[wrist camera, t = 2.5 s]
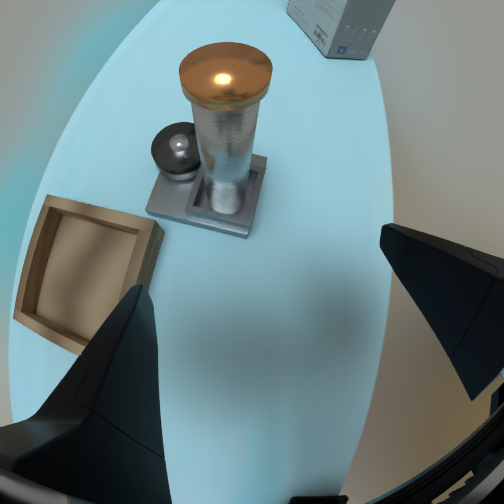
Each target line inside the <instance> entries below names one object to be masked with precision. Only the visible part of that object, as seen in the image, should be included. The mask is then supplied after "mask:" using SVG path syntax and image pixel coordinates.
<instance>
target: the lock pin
mask: <svg viewBox="0 0 504 504" xmlns="http://www.w3.org/2000/svg"><path fill="white" fill-rule="evenodd" d="M179 75H180V81H181V87H182V91H183V94H184V96H185V97H186V98H187V99H188V100H189V101H190V102H191V105H192V112H193V118H194V125H195V131H196V137H197V143H198V149H199V155H200V161H201V166H202V172H203V178H204V183H205V189H206V194H207V199H208V203H209V205H210V207H211V208H212V209H213V210H214V211H217V212H221V213H225V214H233V213H235V212H237V211H238V210H240V209H241V208H242V206H243V205H244V202H245V198H246V191H247V184H248V177H249V170H250V163H251V156H252V150H253V143H254V136H255V130H256V123H257V117H258V110H259V104H260V100H262V99H263V98H264V97H265V95H266V94H267V92H268V90H269V85H270V80H271V75H272V63H271V61H270V59H269V58H268V56H267V55H266V54H264V53H263V52H262V51H260V50H259V49H257V48H255V47H252V46H249V45H246V44H242V43H235V42H220V43H213V44H209V45H205V46H202V47H200V48H198V49H196V50H194V51H192V52H191V53H189V54H188V55H187V56H186V57H185V58H184V59H183V60H182V62H181V64H180V67H179Z"/></svg>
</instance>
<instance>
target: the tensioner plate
mask: <svg viewBox="0 0 504 504" xmlns="http://www.w3.org/2000/svg"><path fill="white" fill-rule="evenodd" d="M151 153H152V156H153V159H154V161H155V163H156V165H157V167H158V169H159V171H160V173H159V175H158V178H157V180H156V183H155V185H154V188H153V190H152V193H151V196H150V198H149V201H148V204H147V206H146V209H145V211H146V212H147V213H148V214H149V215H152V216H156V217H160V218H164V219H168V220H172V221H177V222H181V223H185V224H189V225H193V226H197V227H201V228H205V229H209V230H213V231H217V232H221V233H225V234H229V235H233V236H237V237H241V238H245V239H247V235H248V233H249V231H250V227H251V224H252V220H253V216H254V212H255V208H256V204H257V200H258V196H259V192H260V188H261V185H262V181H263V177H264V173H265V169H266V168H265V165H266V161H267V157H263V156H259V155H255V154H252V156H251V163H250V170H249V177H248V184H247V191H246V198H245V202H244V205H243V206H242V208H241V209H240V210H238V211H237V212H235V213H233V214H225V213H221V212H217V211H214V210H213V209H212V208H211V207H210V205H209V203H208V199H207V194H206V189H205V183H204V178H203V172H202V166H201V161H200V155H199V149H198V143H197V137H196V131H195V125H194V123H189V122H179V123H175V124H171V125H169V126H167V127H165V128H164V129H162V130H161V131H160V132H159V133H158V134H157V135H156V137H155V138H154V140H153V142H152V146H151Z"/></svg>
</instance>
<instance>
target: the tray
mask: <svg viewBox="0 0 504 504" xmlns="http://www.w3.org/2000/svg"><path fill="white" fill-rule="evenodd" d="M164 233H165V232H164V231H163V230H162V228H161V227H160V226H159V225H158V223H157V222H156V221H155V220H152V219H148V218H144V217H140V216H136V215H132V214H127V213H123V212H119V211H115V210H111V209H107V208H103V207H98V206H94V205H90V204H86V203H82V202H77V201H73V200H69V199H65V198H61V197H56V196H52V195H48V194H47V196H46V198H45V201H44V203H43V206H42V208H41V211H40V214H39V217H38V219H37V222H36V225H35V228H34V231H33V234H32V237H31V240H30V244H29V247H28V250H27V254H26V258H25V261H24V265H23V269H22V273H21V278H20V282H19V287H18V292H17V297H16V302H15V308H14V315H13V319H15V320H16V321H18V322H19V323H21V324H22V325H24V326H26V327H27V328H29V329H30V330H32V331H34V332H35V333H37V334H39V335H40V336H42V337H44V338H46V339H47V340H49V341H51V342H53V343H55V344H56V345H58V346H60V347H62V348H64V349H66V350H68V351H70V352H72V353H74V354H76V355H78V356H79V355H81V353H82V351H83V350H84V348H85V347H86V346H87V344H88V343H89V341H90V340H91V339H92V337H93V336H94V334H95V333H96V332H97V330H98V329H99V328H100V326H101V325H102V324H103V322H104V321H105V320H106V318H107V317H108V316H109V314H110V313H111V312H112V311H113V309H114V308H115V307H116V305H117V304H118V303H119V302H120V300H121V299H122V298H123V296H124V295H125V294H126V293H127V291H128V290H129V289H130V288H131V287H132V286H134V285H138V284H144V286H145V287H146V289H147V292H148V288H149V284H150V280H151V277H152V273H153V270H154V266H155V263H156V259H157V256H158V253H159V249H160V246H161V243H162V240H163V236H164Z"/></svg>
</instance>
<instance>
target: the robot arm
mask: <svg viewBox="0 0 504 504" xmlns="http://www.w3.org/2000/svg"><path fill="white" fill-rule="evenodd" d="M380 248H381V250H382V252H383V253H384V255H385V257H386V258H387V260H388V262H389V263H390V265H391V267H392V268H393V270H394V272H395V274H396V275H397V277H398V278H399V280H400V281H401V283H402V284H403V286H404V287H405V288H406V290H407V291H408V293H409V294H410V296H411V297H412V299H413V300H414V302H415V303H416V305H417V306H418V308H419V309H420V311H421V312H422V314H423V315H424V317H425V319H426V320H427V322H428V323H429V325H430V327H431V328H432V330H433V331H434V333H435V335H436V336H437V338H438V340H439V341H440V343H441V345H442V347H443V348H444V350H445V352H446V353H447V355H448V357H449V358H450V361H451V363H452V365H453V366H454V368H455V370H456V372H457V374H458V376H459V378H460V379H461V382H462V384H463V385H464V387H465V389H466V392H467V393H468V396H469V398H470V399H471V401H473V400H474V399H475V398H476V397H477V396H478V395H480V394H481V393H482V392H483V391H484V390H485V389H486V388H487V387H488V386H489V385H490V384H491V383H492V382H493V381H494V380H495V379H496V378H497V377H498V376H499V375H501V377H502V378H503V379H504V259H502V258H499V257H496V256H493V255H489V254H487V253H484V252H481V251H478V250H475V249H472V248H469V247H465V246H463V245H460V244H458V243H455V242H451V241H449V240H445V239H442V238H439V237H436V236H433V235H430V234H427V233H424V232H420V231H417V230H414V229H410V228H407V227H404V226H400V225H397V224H393V223H389V224H385V225H383V226H382V229H381V236H380ZM470 470H472V472H473V474H474V476H472V477H470V478H468V479H467V480H466V481H465V482H464V483H465V485H464V486H463V487H461V488H459V489H457V490H455V491H453V492H451V493H450V494H449V497H450V498H447V499H445V500H444V501H442V502H440V503H438V504H504V383H503V384H502V385H501V386H500V387H499V388H498V389H497V390H496V391H495V392H494V393H493V394H492V395H491V407H490V416H489V418H488V419H487V420H486V421H485V422H484V423H483V424H482V425H481V426H480V427H479V428H477V429H476V430H475V431H474V432H473V433H472V434H471V435H470V436H468V437H467V438H466V439H465V440H464V441H463V442H461V443H460V444H459V445H458V446H457V447H455V448H454V449H453V450H452V451H450V452H449V453H448V454H446V455H445V456H444V457H442V458H441V459H440V460H438V461H437V462H436V463H434V464H433V465H431V466H430V467H428V468H427V469H426V470H424V471H423V472H421V473H419V474H418V475H416V476H415V477H413V478H412V479H410V480H408V481H407V482H405V483H403V484H402V485H400V486H398V487H396V488H395V489H393V490H391V491H389V492H388V493H386V494H383V495H382V496H380V497H378V498H376V499H374V500H372V501H370V502H367V503H365V504H433V503H432V500H434V499H435V498H436V497H438V496H439V495H441V494H442V493H443V492H445V491H446V490H447V489H449V488H450V487H451V486H453V485H454V484H455V483H456V482H458V481H459V480H460V479H461V478H462V477H464V476H465V475H466V474H467V473H468V472H469V471H470ZM294 501H295V502H294ZM347 501H348V497H347V496H346V495H341V496H326V497H293V498H292V499H291V500H290V501H289V504H346V503H347ZM0 504H172V500H171V495H170V489H169V483H168V476H167V470H166V462H165V455H164V447H163V437H162V427H161V415H160V400H159V379H158V344H157V335H156V326H155V317H154V307H153V303H152V300H151V298H150V296H149V294H148V292H147V289H146V287H145V286H144V284H138V285H134V286H132V287H131V288H130V289H129V290H128V291H127V293H126V294H125V295H124V296H123V298H122V299H121V300H120V302H119V303H118V304H117V305H116V307H115V308H114V309H113V311H112V312H111V313H110V314H109V316H108V317H107V318H106V320H105V321H104V322H103V324H102V325H101V326H100V328H99V329H98V330H97V332H96V333H95V334H94V336H93V337H92V339H91V340H90V341H89V343H88V344H87V346H86V347H85V348H84V350H83V351H82V353H81V355H79V357H78V358H77V360H76V361H75V363H74V364H73V365H72V367H71V368H70V369H69V371H68V372H67V374H66V375H65V376H64V378H63V379H62V380H61V382H60V383H59V384H58V385H57V387H56V388H55V389H54V391H53V392H52V393H51V394H50V396H49V397H48V398H47V400H46V401H45V402H44V403H43V405H42V406H41V407H40V409H39V410H38V411H37V412H36V413H35V414H34V415H33V416H31V417H30V418H28V419H26V420H24V421H21V422H17V423H14V424H10V425H7V426H3V427H0Z"/></svg>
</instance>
